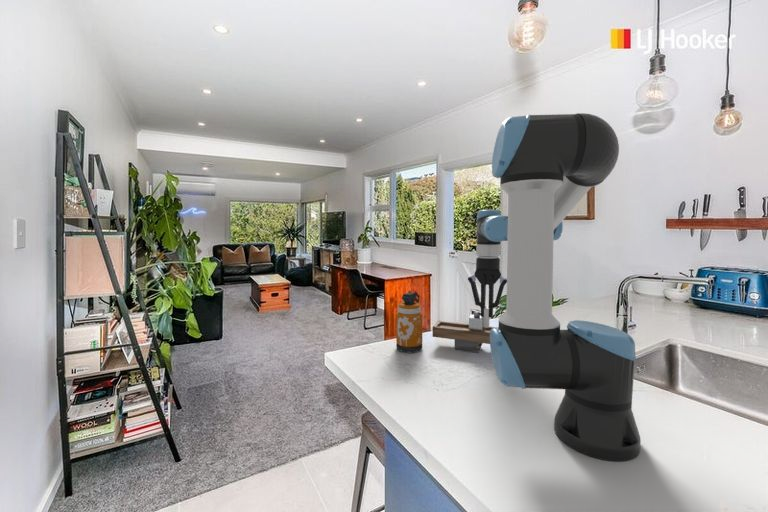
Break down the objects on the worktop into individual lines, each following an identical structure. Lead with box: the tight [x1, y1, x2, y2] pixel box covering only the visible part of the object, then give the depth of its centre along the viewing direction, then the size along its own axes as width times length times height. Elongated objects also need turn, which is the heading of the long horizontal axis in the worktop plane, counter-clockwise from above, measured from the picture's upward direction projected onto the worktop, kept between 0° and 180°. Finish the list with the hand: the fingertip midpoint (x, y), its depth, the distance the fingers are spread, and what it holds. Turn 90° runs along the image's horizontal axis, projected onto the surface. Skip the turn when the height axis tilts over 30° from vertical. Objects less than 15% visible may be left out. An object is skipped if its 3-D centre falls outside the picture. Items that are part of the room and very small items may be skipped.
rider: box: [468, 311, 484, 332], centre depth 122 cm, size 4×4×6 cm
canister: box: [395, 290, 423, 353], centre depth 125 cm, size 9×11×20 cm
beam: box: [431, 320, 499, 354], centre depth 124 cm, size 8×23×8 cm, turn 66°
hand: (486, 326), depth 121 cm, fingers closed
